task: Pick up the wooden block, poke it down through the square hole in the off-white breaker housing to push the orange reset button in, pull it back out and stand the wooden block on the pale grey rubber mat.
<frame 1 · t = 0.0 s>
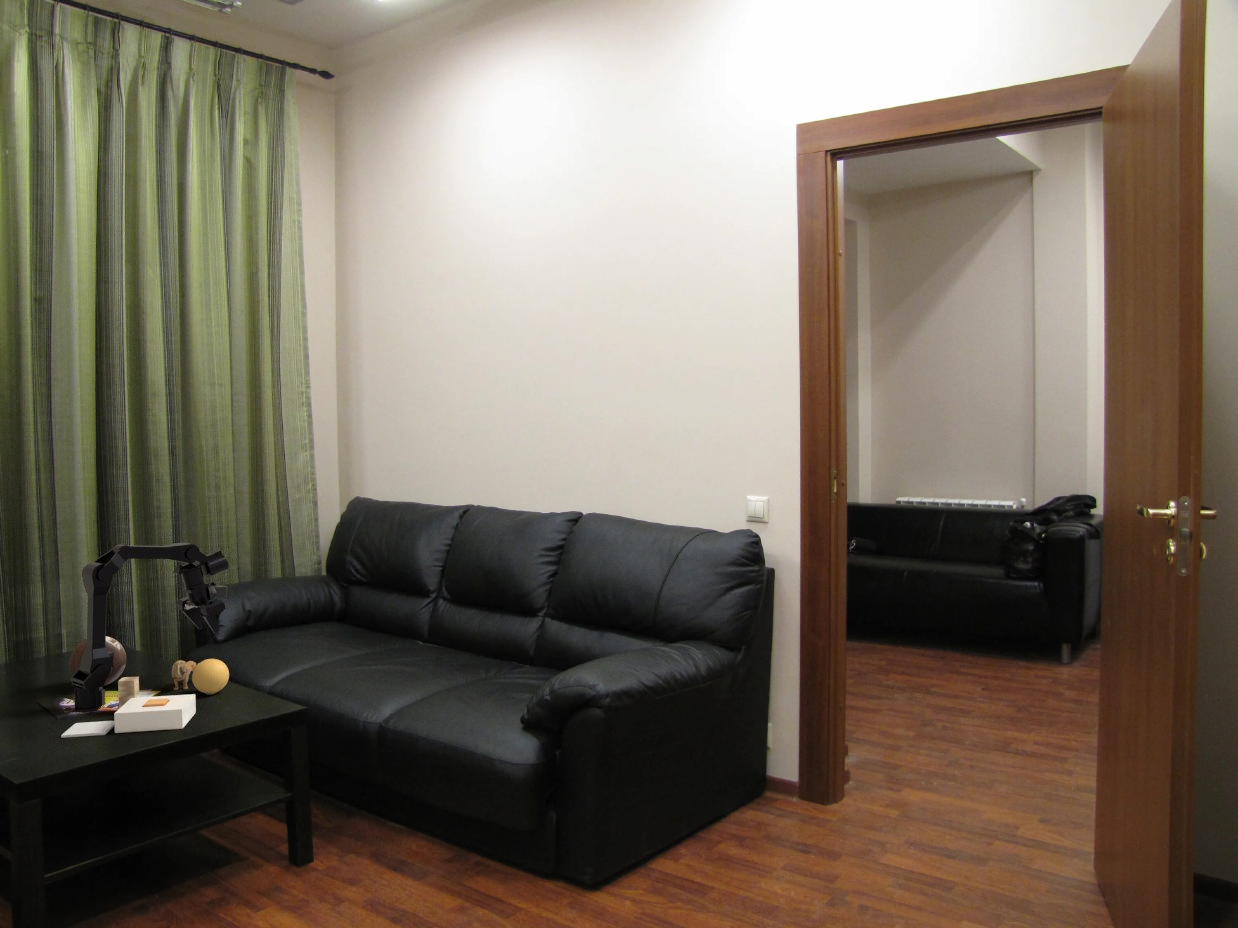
hand: (208, 630, 287), 15 cm above the table, tool pointing down, fingers open, 9 cm apart
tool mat: (90, 729, 241), on the table
reset button: (156, 707, 247), point 4 cm above the table, slide at 0.0 cm
breaker housing: (156, 722, 247), on the table
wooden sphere: (98, 686, 283), on the table
stress ball: (211, 693, 274), on the table
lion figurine: (186, 686, 282), on the table
wooden block: (129, 711, 257), on the table
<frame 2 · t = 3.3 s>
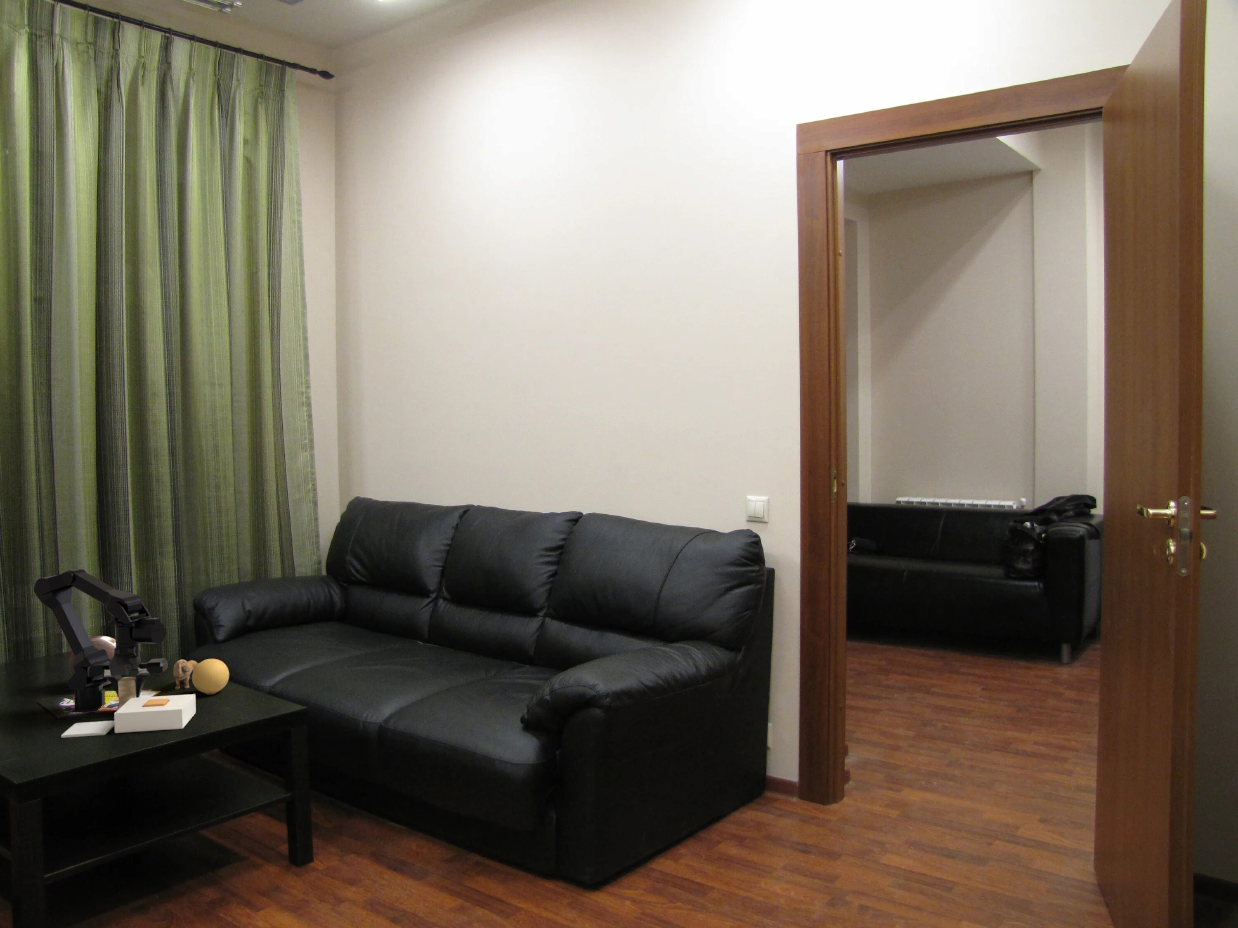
hand: (129, 698, 257), 4 cm above the table, tool pointing down, fingers closed on wooden block, 4 cm apart
wooden block: (129, 711, 257), on the table, touching gripper
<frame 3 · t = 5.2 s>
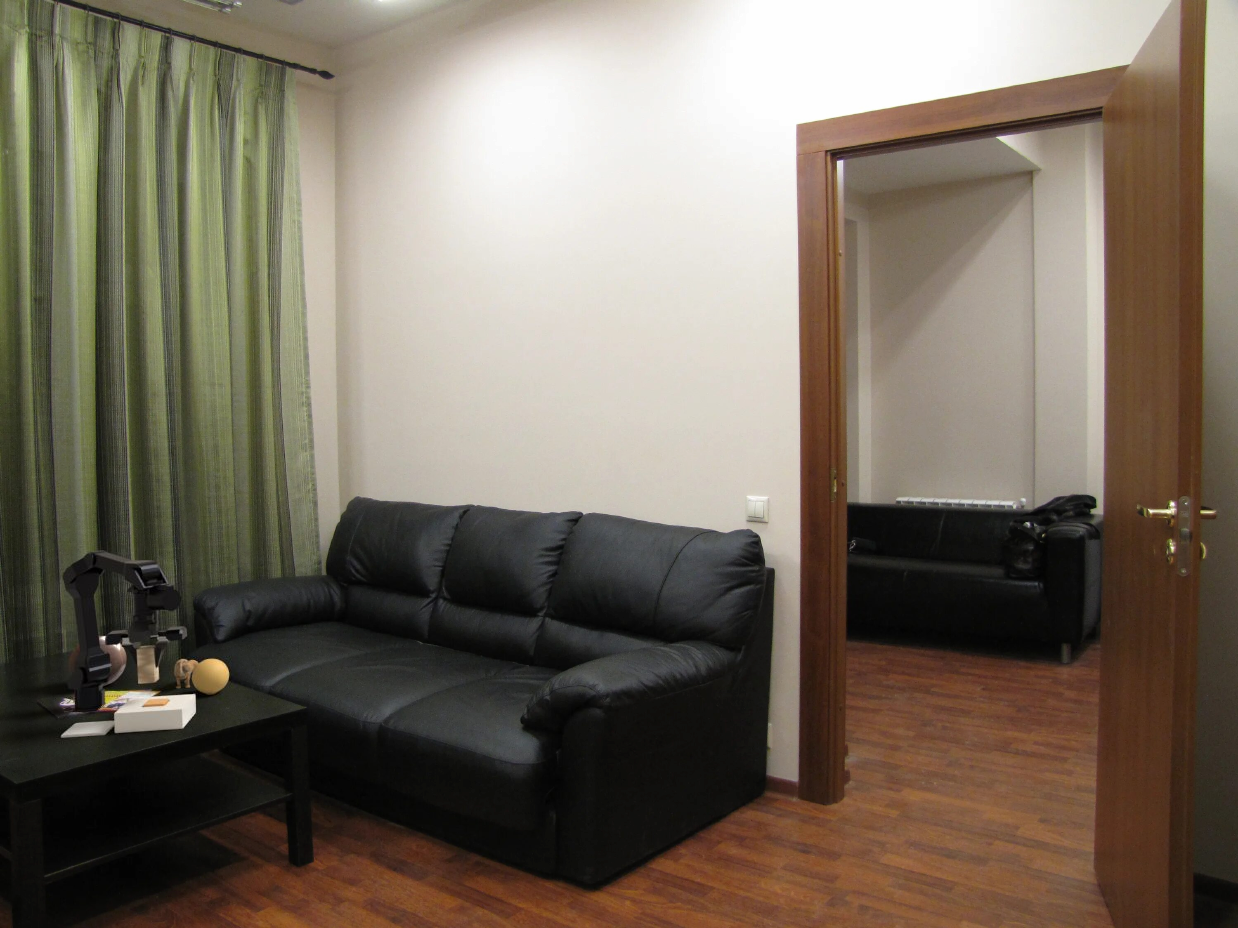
hand: (148, 667, 249), 14 cm above the table, tool pointing down, fingers closed on wooden block, 4 cm apart
wooden block: (148, 681, 250), point 10 cm above the table, touching gripper
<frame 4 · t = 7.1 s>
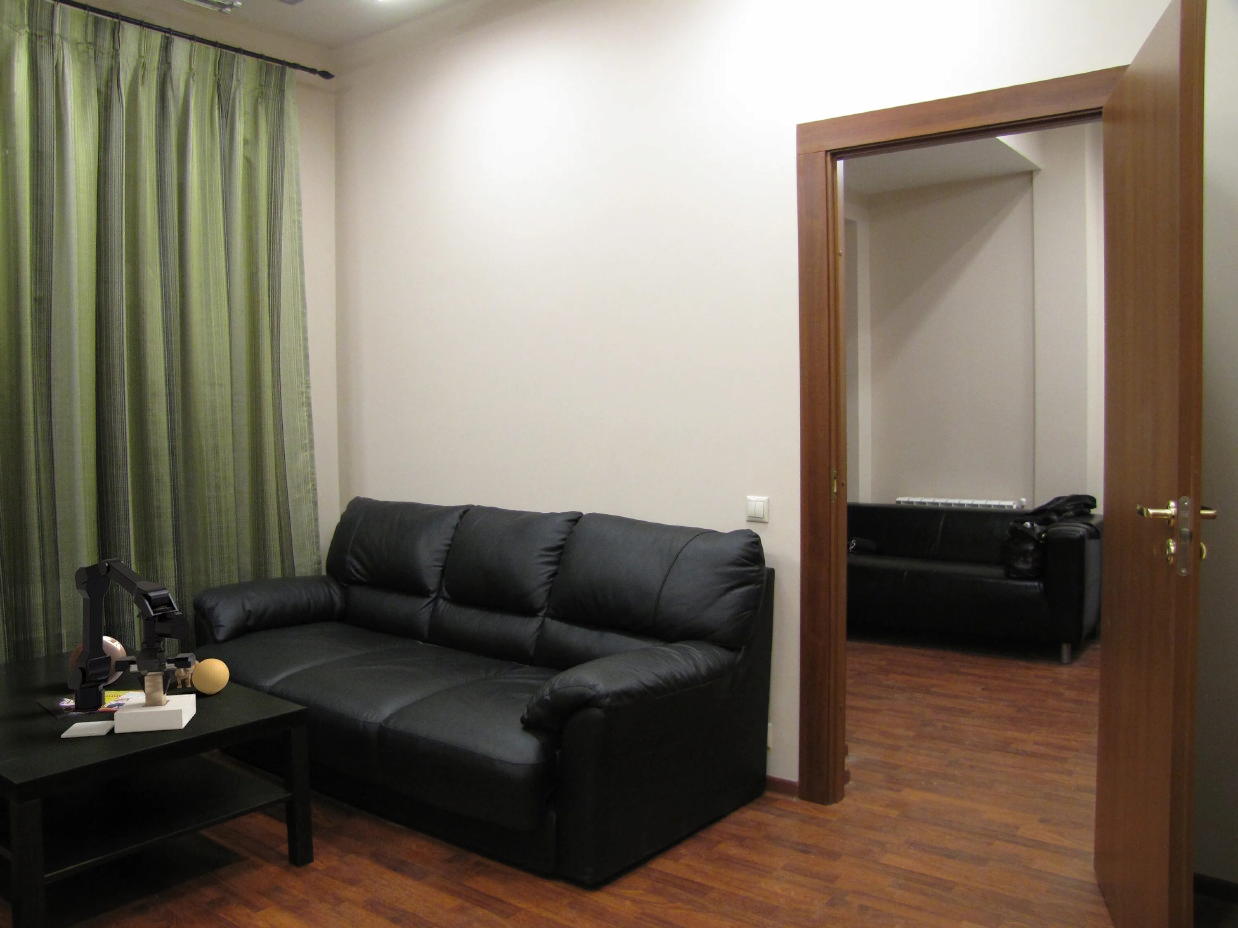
hand: (155, 694, 247), 7 cm above the table, tool pointing down, fingers closed on wooden block, 4 cm apart
reset button: (156, 713, 247), point 2 cm above the table, slide at 1.8 cm, touching wooden block
wooden block: (156, 708, 247), point 4 cm above the table, touching gripper, reset button
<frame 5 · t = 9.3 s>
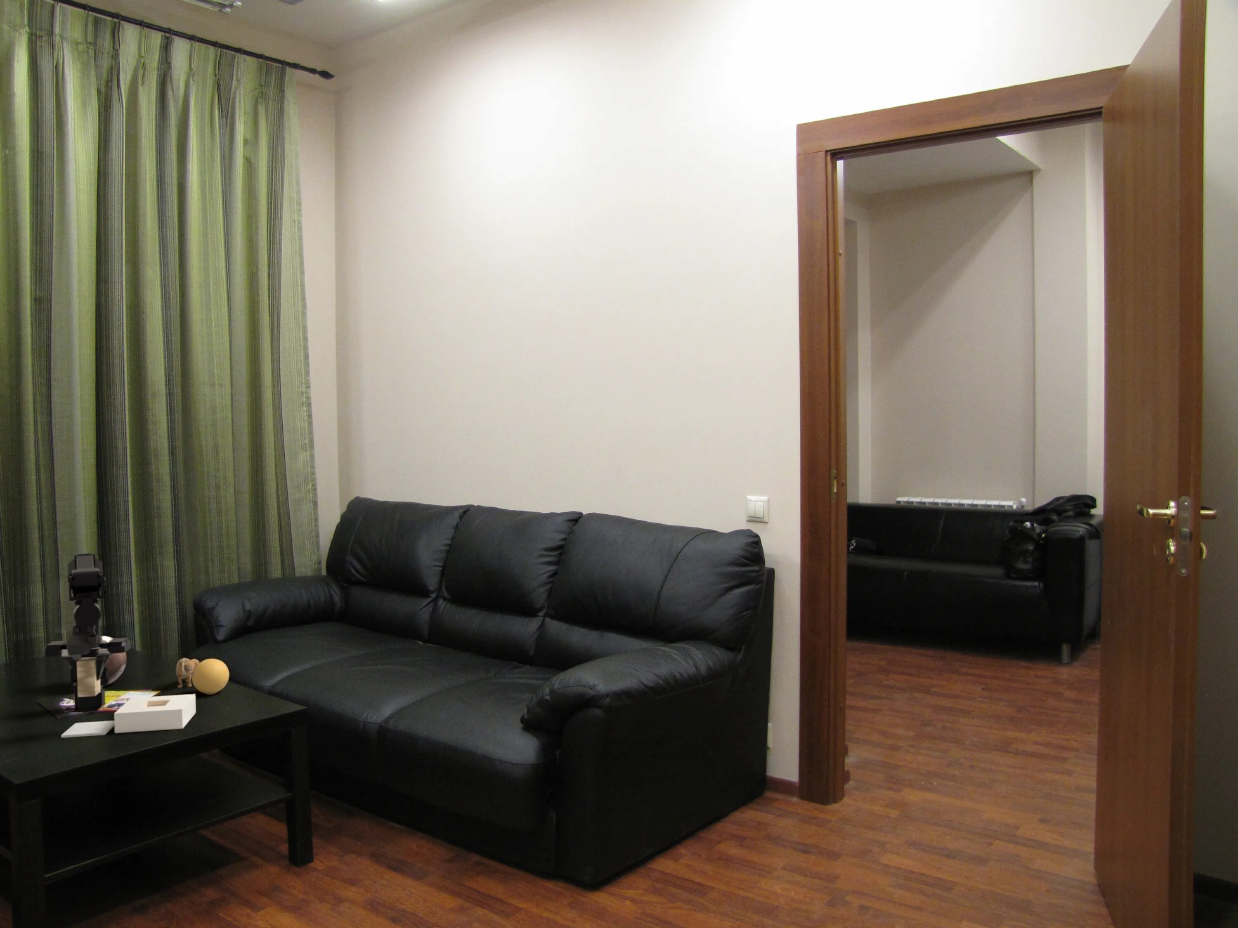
hand: (88, 680, 241), 13 cm above the table, tool pointing down, fingers closed on wooden block, 4 cm apart
reset button: (156, 713, 247), point 2 cm above the table, slide at 1.8 cm
wooden block: (89, 694, 241), point 9 cm above the table, touching gripper
when the fingers open (6 cm above the table, at t = 10.8 s): wooden block drops 2 cm, resting on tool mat.
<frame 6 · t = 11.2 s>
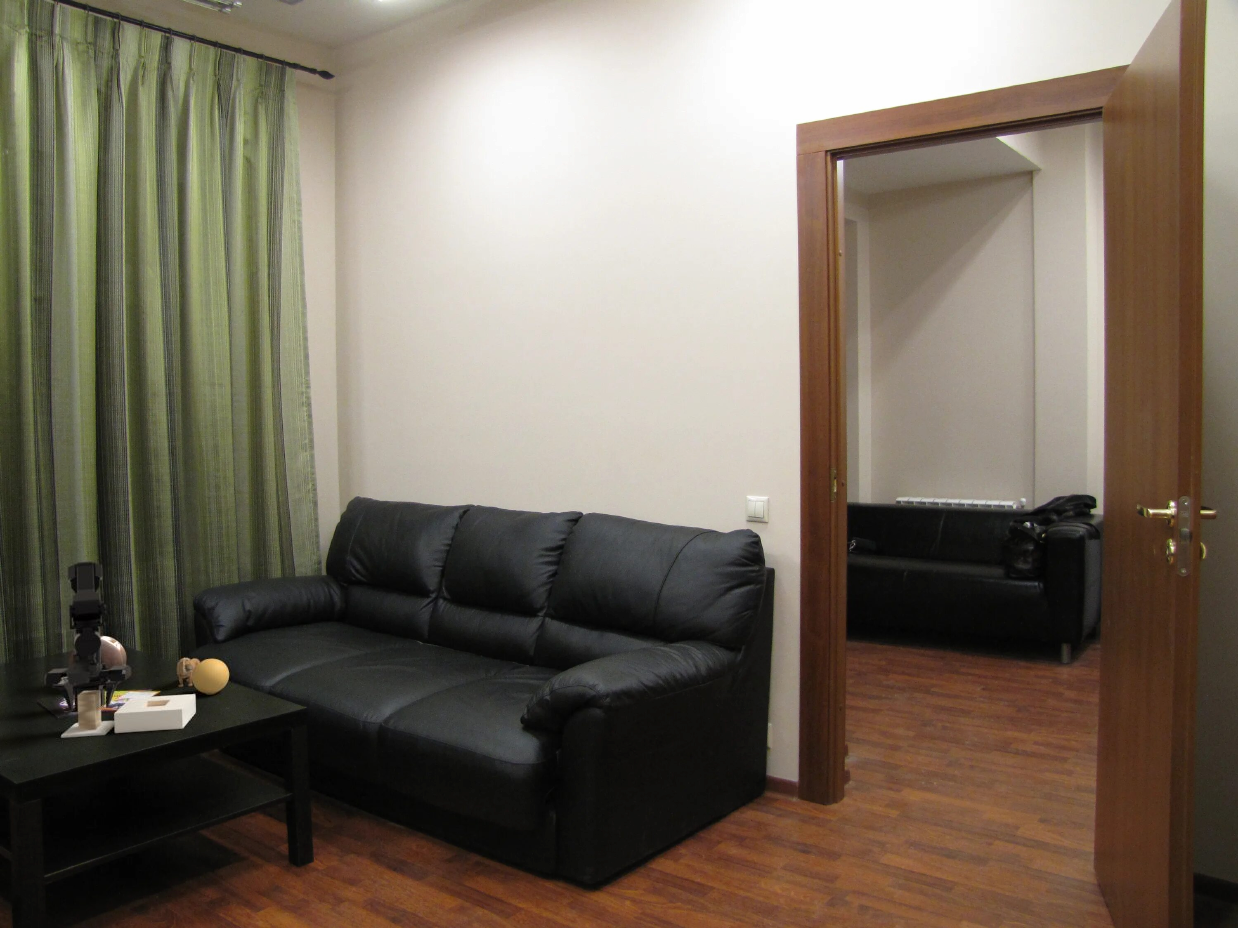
hand: (89, 708, 241), 6 cm above the table, tool pointing down, fingers open, 8 cm apart
wooden block: (90, 727, 241), point 1 cm above the table, touching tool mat
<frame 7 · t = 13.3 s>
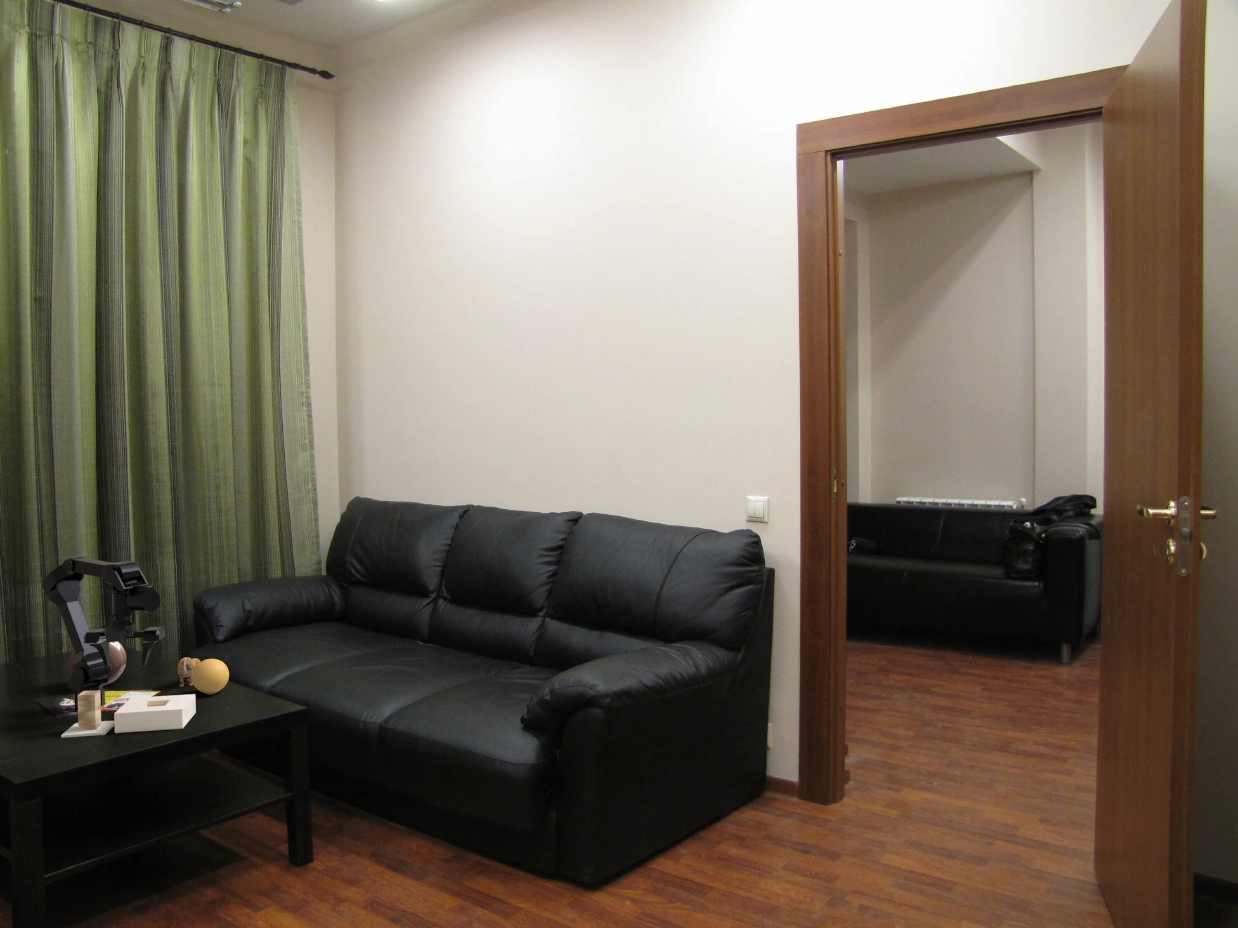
hand: (125, 666, 254), 13 cm above the table, tool pointing down, fingers open, 9 cm apart
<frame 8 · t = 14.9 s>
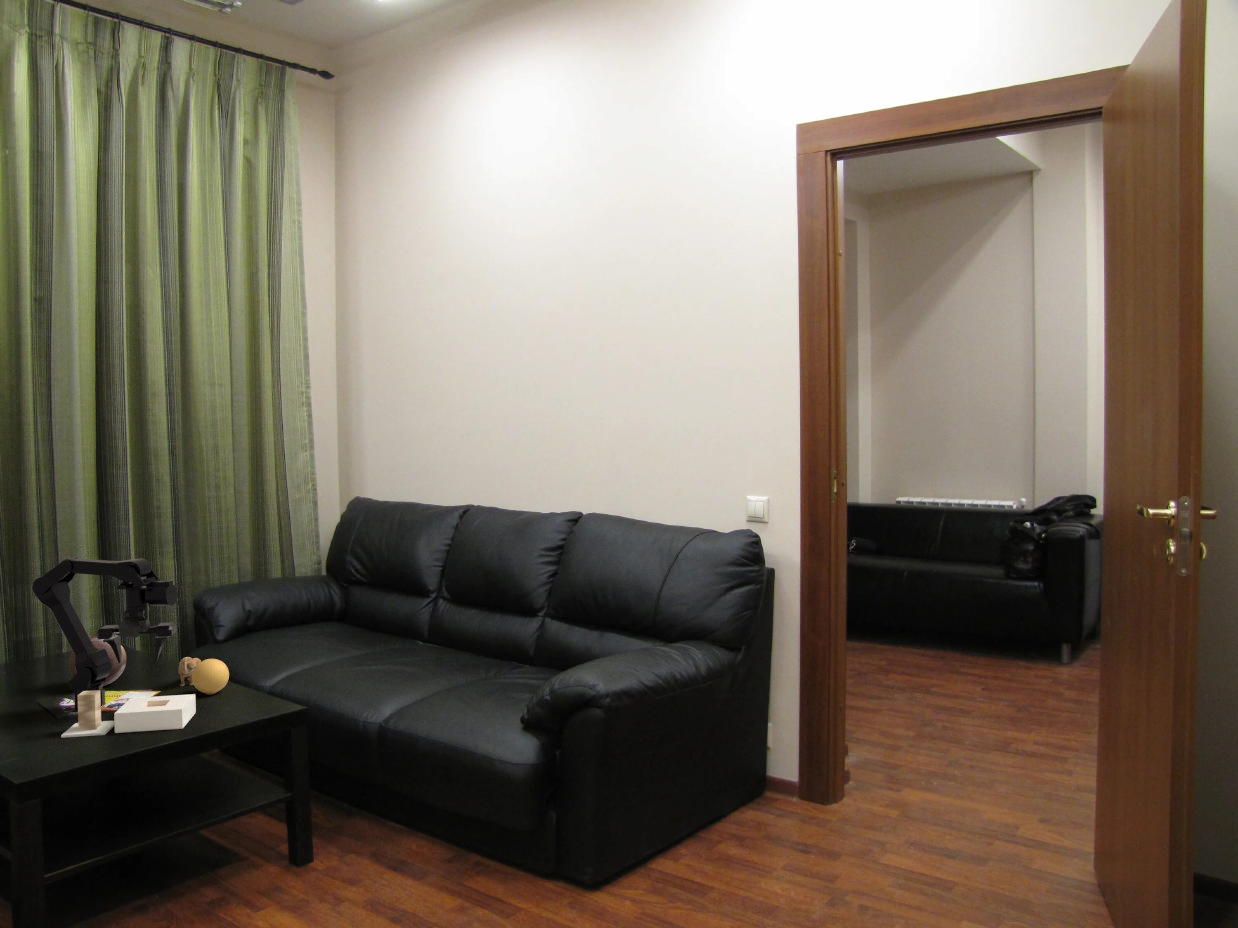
hand: (138, 661, 259), 13 cm above the table, tool pointing down, fingers open, 9 cm apart
at the end: reset button slide at 1.8 cm; wooden block inside the target area on the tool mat (0.0 cm from its centre), point 0.6 cm above the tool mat's base; wooden block tilted 0° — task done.
